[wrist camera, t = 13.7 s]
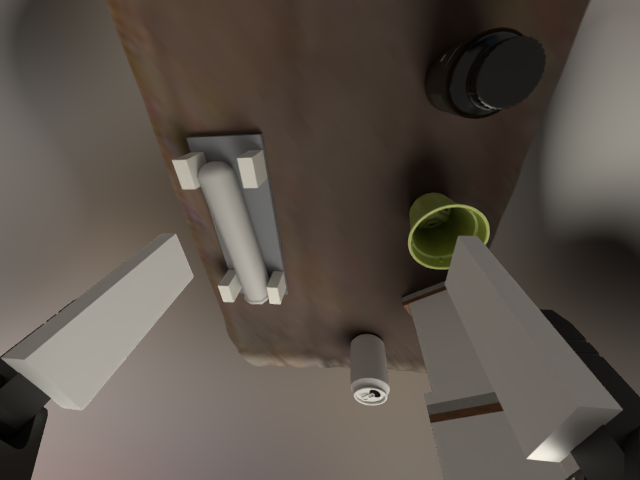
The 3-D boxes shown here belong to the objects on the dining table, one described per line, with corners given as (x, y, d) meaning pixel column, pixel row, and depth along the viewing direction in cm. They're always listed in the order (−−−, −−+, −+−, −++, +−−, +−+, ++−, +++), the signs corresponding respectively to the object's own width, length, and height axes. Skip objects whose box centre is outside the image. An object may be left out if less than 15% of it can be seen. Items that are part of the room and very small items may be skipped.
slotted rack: (262, 133, 35) (248, 140, 30) (288, 291, 50) (282, 311, 46) (190, 136, 36) (166, 144, 31) (237, 289, 52) (226, 309, 47)
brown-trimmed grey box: (401, 297, 48) (480, 636, 18) (456, 276, 44) (673, 668, 14) (426, 331, 52) (522, 650, 23) (478, 315, 48) (680, 678, 19)
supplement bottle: (466, 25, 26) (537, -13, 16) (498, 77, 28) (579, 73, 18) (412, 80, 29) (443, 77, 19) (444, 124, 32) (488, 141, 21)
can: (389, 347, 56) (397, 404, 46) (360, 355, 59) (361, 410, 49) (374, 327, 53) (380, 384, 43) (344, 336, 56) (343, 392, 46)
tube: (182, 167, 33) (239, 301, 46) (210, 166, 31) (262, 307, 44) (212, 157, 37) (257, 283, 50) (238, 155, 35) (278, 287, 48)
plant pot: (390, 194, 37) (399, 221, 30) (457, 170, 34) (485, 193, 27) (406, 243, 41) (417, 277, 34) (466, 225, 38) (493, 258, 31)
